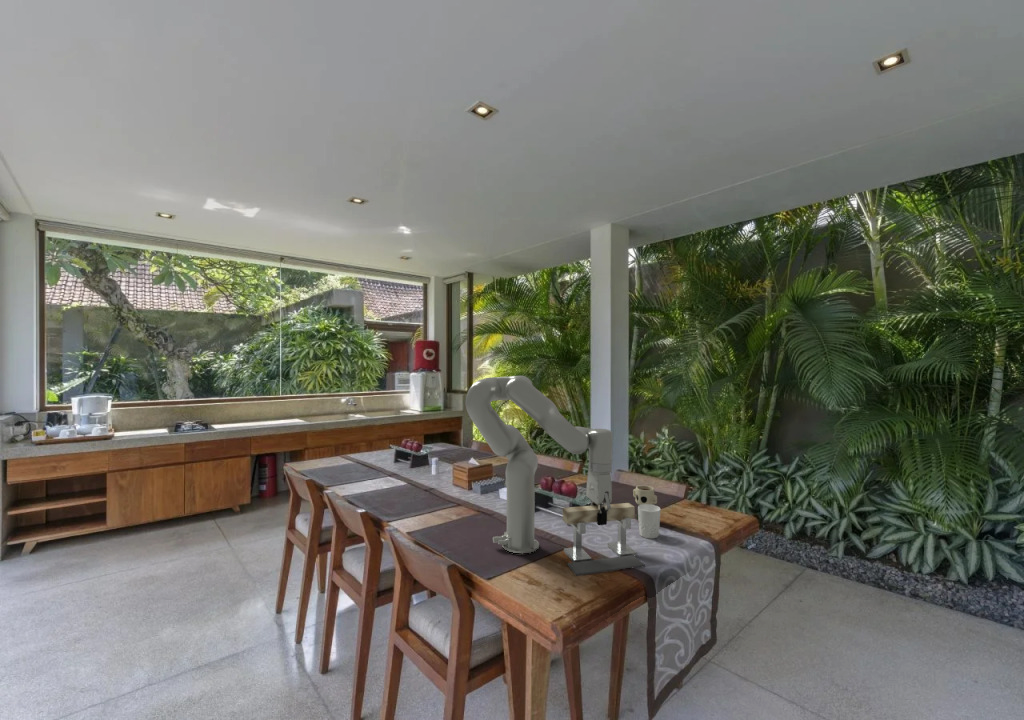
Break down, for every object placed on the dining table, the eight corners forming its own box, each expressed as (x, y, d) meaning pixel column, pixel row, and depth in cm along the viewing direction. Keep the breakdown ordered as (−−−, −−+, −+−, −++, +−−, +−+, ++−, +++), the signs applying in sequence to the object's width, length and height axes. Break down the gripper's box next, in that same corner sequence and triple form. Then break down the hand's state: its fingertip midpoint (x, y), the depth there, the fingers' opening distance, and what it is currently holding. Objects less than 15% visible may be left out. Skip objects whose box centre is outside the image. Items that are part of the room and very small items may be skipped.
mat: (576, 575, 139) (576, 573, 139) (567, 565, 146) (567, 563, 146) (644, 566, 145) (644, 564, 145) (633, 556, 152) (633, 554, 152)
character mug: (627, 518, 186) (627, 486, 185) (638, 514, 190) (639, 482, 190) (650, 526, 177) (651, 492, 177) (661, 522, 182) (662, 489, 181)
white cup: (648, 541, 164) (648, 512, 164) (633, 533, 171) (633, 506, 171) (664, 536, 168) (665, 509, 168) (649, 529, 175) (649, 502, 175)
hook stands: (574, 563, 147) (574, 524, 147) (563, 551, 156) (563, 514, 155) (636, 555, 153) (637, 517, 152) (623, 544, 162) (623, 508, 161)
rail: (567, 524, 149) (567, 512, 149) (562, 519, 153) (562, 507, 153) (634, 518, 155) (634, 506, 155) (628, 514, 159) (628, 502, 159)
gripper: (579, 461, 161) (578, 513, 161) (601, 474, 144) (599, 532, 145) (599, 460, 163) (598, 512, 163) (622, 473, 146) (621, 530, 147)
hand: (598, 521), depth 154 cm, fingers closed on rail, 4 cm apart
